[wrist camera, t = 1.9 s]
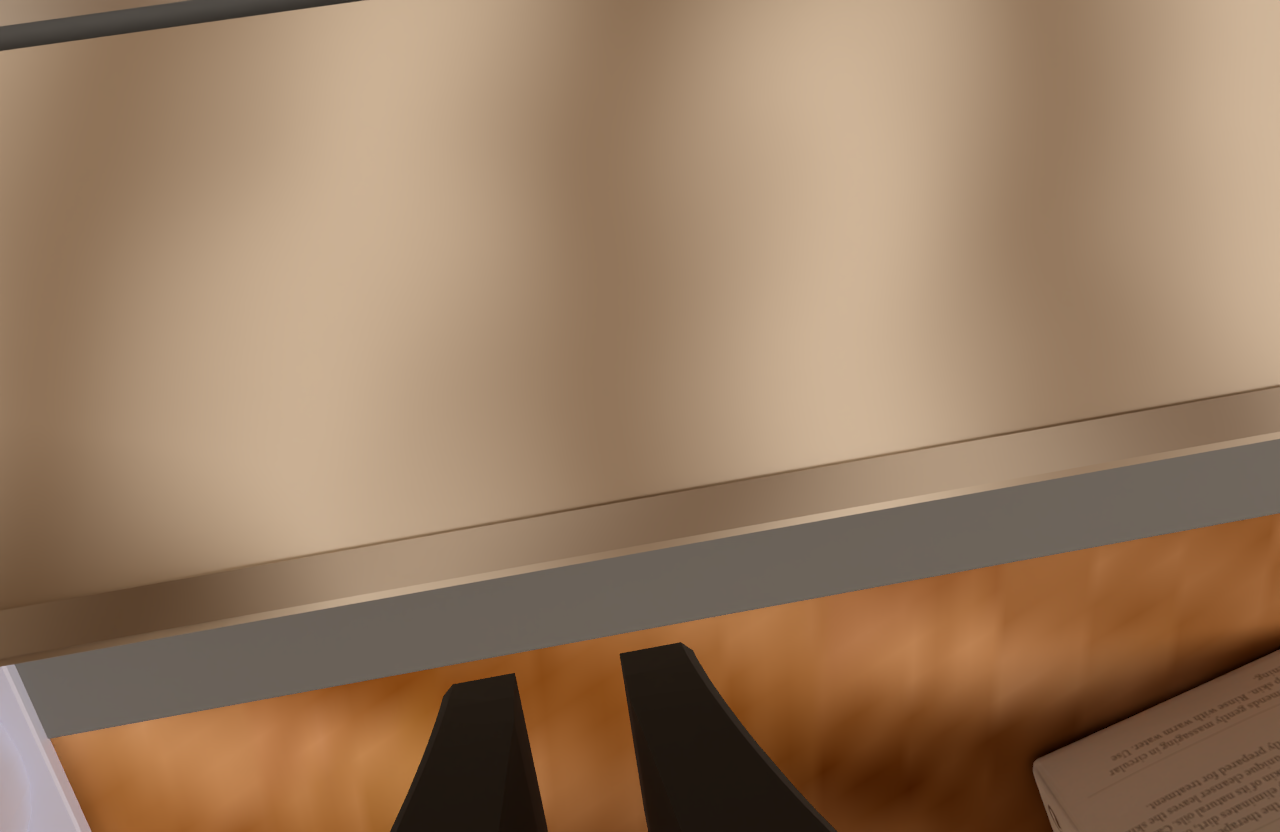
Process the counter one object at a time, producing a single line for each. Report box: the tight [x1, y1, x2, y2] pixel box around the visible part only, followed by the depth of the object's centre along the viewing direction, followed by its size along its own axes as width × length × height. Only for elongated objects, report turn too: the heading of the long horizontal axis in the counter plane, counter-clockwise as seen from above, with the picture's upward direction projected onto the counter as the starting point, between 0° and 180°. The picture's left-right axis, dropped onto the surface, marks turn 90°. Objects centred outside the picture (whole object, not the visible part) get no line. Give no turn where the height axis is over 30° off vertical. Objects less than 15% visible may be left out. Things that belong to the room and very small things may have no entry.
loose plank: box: [0, 0, 1280, 667], centre depth 16 cm, size 22×8×1 cm
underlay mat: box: [0, 0, 1280, 739], centre depth 17 cm, size 26×22×1 cm
